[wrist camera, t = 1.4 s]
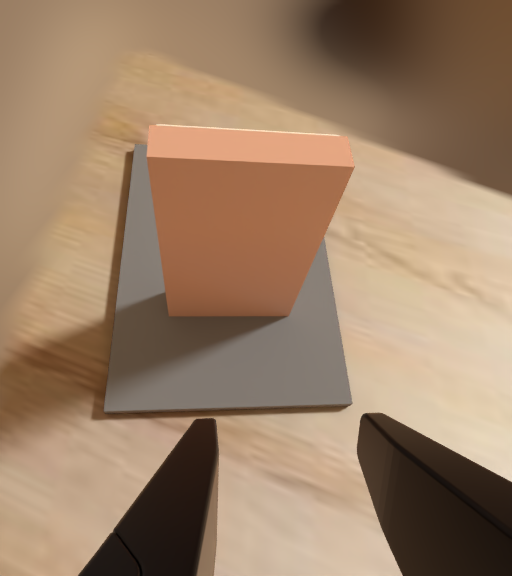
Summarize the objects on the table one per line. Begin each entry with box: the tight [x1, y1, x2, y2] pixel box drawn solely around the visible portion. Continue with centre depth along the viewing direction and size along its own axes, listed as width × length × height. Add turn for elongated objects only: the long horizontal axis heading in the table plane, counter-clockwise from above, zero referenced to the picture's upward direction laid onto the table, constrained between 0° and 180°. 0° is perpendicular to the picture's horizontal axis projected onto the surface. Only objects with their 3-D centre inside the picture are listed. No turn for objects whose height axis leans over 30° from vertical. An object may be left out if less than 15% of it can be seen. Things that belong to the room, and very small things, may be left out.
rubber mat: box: [104, 144, 352, 414], centre depth 27 cm, size 19×13×1 cm
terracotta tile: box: [147, 124, 355, 316], centre depth 19 cm, size 2×7×12 cm, turn 93°
